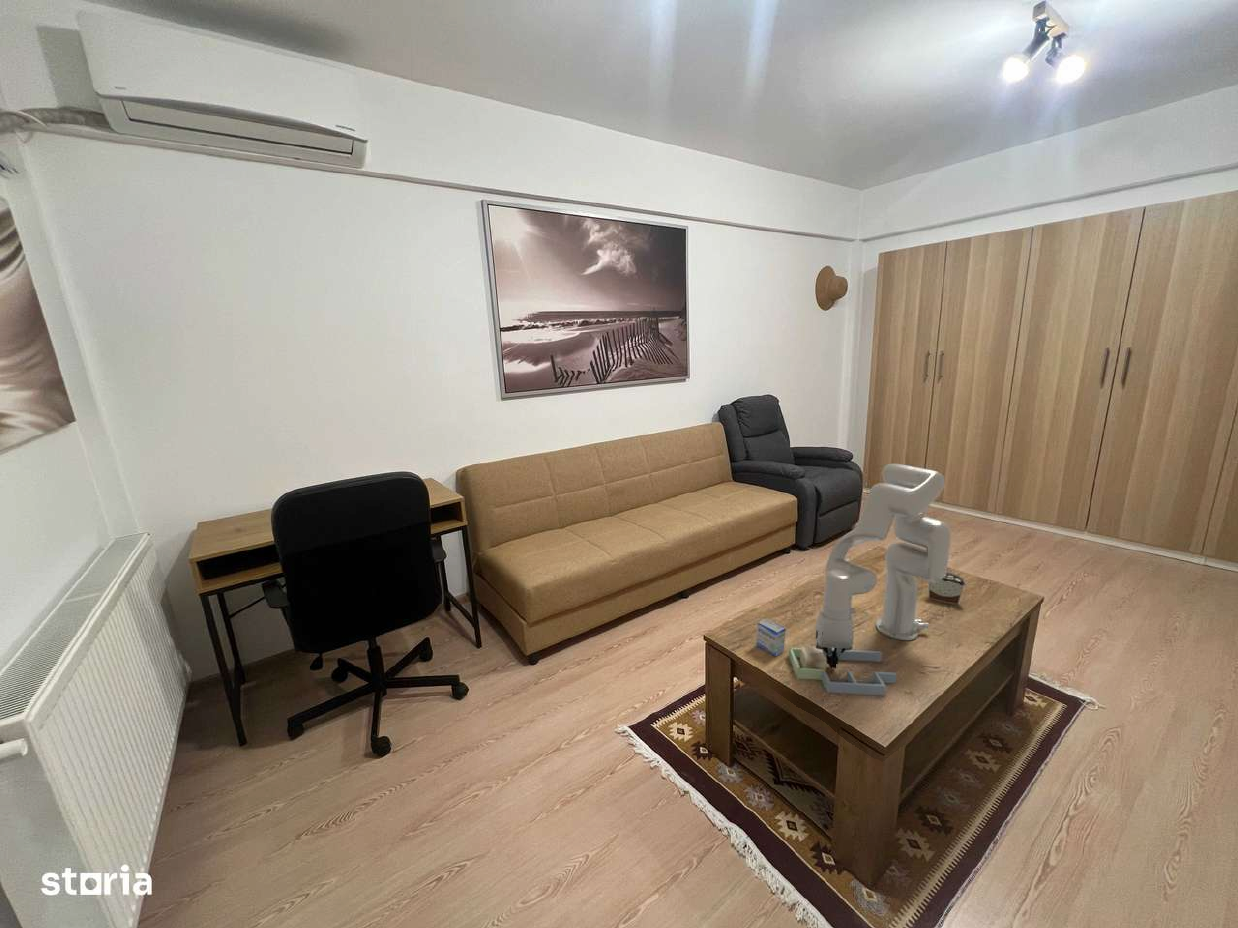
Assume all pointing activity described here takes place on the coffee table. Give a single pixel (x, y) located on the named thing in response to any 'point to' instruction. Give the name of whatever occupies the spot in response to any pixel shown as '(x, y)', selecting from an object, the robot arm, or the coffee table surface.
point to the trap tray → (850, 684)
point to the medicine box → (770, 637)
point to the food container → (947, 589)
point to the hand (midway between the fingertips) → (831, 665)
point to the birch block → (812, 658)
